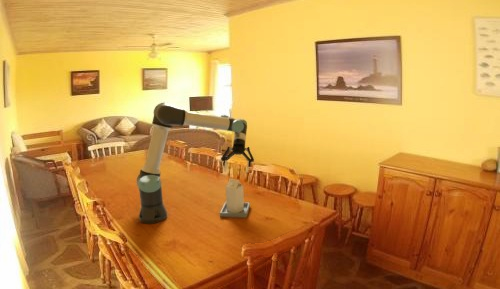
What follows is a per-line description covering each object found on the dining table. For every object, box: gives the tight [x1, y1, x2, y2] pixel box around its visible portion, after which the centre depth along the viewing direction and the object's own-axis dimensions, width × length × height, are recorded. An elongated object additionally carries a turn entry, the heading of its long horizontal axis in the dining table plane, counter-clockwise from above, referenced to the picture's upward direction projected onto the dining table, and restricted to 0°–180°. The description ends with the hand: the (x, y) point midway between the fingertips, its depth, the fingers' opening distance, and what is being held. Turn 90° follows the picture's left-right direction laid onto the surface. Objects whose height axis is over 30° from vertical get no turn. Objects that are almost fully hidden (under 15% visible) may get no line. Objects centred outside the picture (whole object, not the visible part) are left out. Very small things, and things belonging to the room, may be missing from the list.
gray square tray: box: [219, 201, 251, 219], centre depth 175 cm, size 15×15×2 cm
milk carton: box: [225, 178, 245, 213], centre depth 173 cm, size 7×7×19 cm
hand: (236, 171), depth 180 cm, fingers open, 13 cm apart
